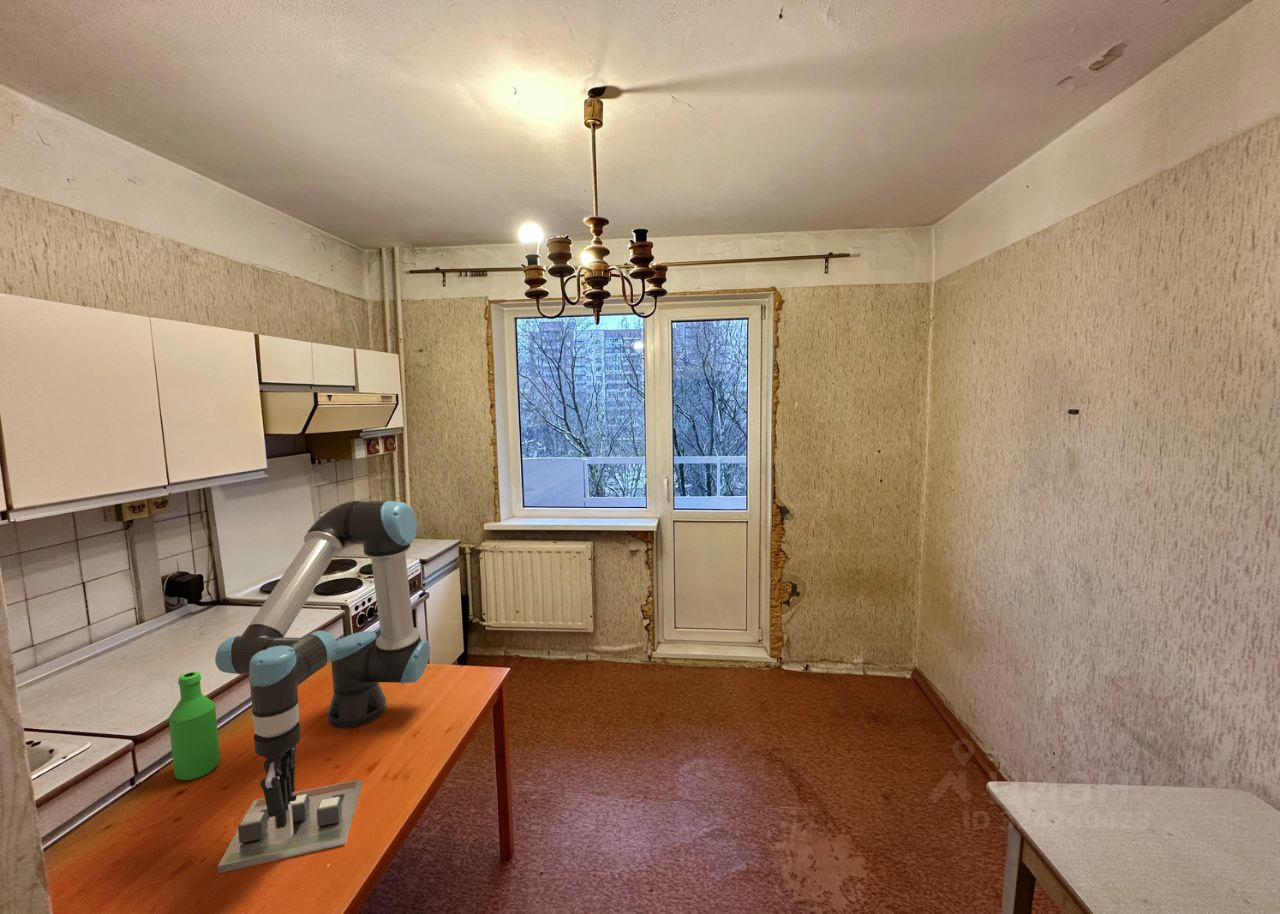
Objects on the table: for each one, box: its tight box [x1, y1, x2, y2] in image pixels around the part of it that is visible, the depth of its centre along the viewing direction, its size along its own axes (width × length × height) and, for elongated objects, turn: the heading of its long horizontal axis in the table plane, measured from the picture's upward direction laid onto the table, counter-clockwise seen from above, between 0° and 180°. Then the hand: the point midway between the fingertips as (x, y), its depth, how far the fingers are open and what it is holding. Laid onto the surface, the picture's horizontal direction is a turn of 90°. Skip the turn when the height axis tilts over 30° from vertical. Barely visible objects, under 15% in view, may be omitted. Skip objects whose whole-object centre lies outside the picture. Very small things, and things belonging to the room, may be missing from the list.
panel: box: [217, 778, 363, 874], centre depth 114 cm, size 18×22×2 cm
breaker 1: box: [237, 812, 268, 843], centre depth 109 cm, size 3×4×4 cm
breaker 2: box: [290, 794, 310, 822], centre depth 114 cm, size 3×4×4 cm
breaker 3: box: [317, 797, 342, 826], centre depth 113 cm, size 3×4×4 cm
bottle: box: [168, 671, 221, 781], centre depth 130 cm, size 9×9×25 cm
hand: (284, 836), depth 106 cm, fingers closed
